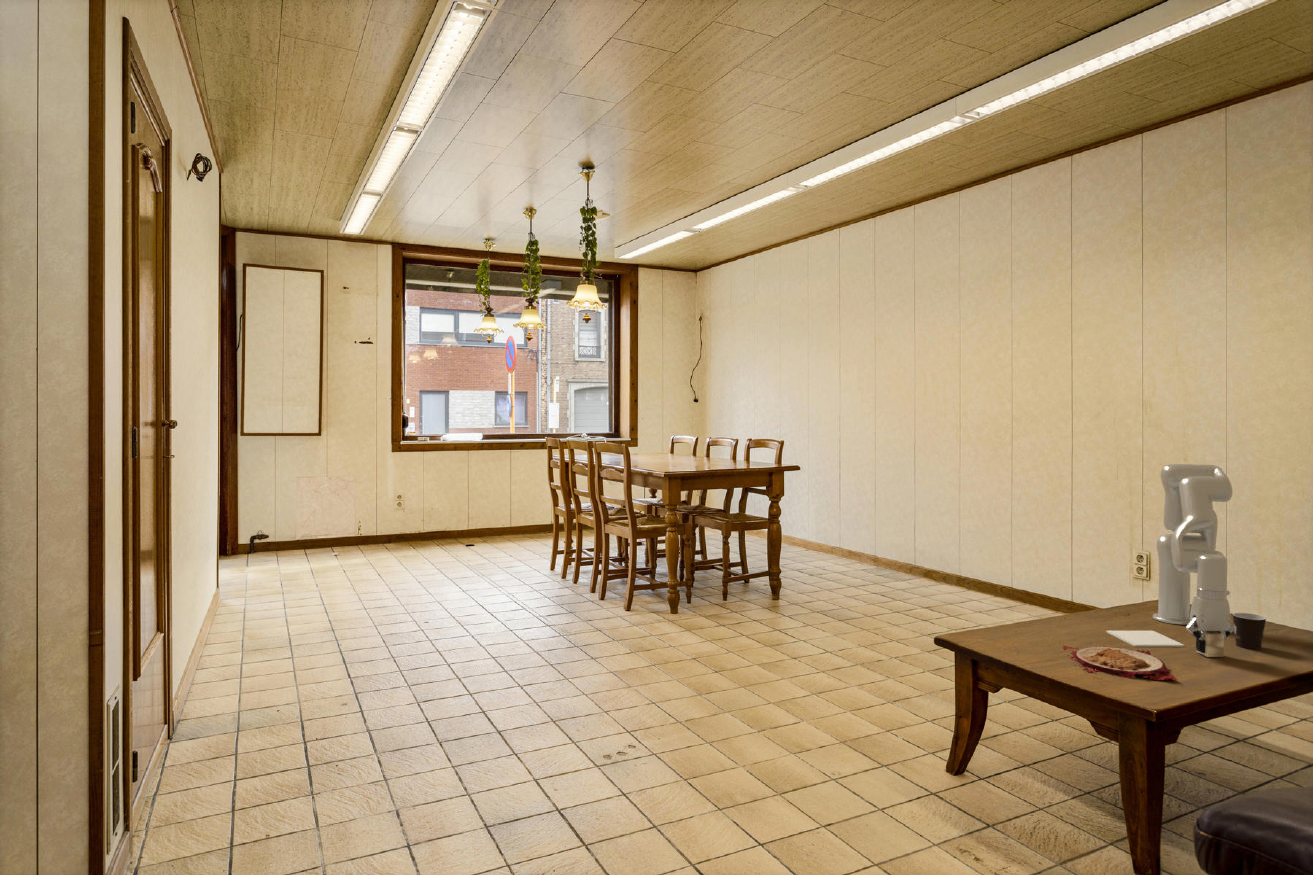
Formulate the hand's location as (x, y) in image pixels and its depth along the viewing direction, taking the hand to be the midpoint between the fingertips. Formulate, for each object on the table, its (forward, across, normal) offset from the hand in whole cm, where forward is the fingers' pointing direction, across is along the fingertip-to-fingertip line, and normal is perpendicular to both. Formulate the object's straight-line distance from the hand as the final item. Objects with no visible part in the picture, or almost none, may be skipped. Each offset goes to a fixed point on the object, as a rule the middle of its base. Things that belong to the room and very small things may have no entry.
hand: (1209, 650), depth 241 cm
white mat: (+2, +10, -17) cm, 20 cm away
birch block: (+1, 0, 0) cm, 1 cm away
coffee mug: (+2, -20, -10) cm, 22 cm away
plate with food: (+2, +34, +8) cm, 35 cm away
